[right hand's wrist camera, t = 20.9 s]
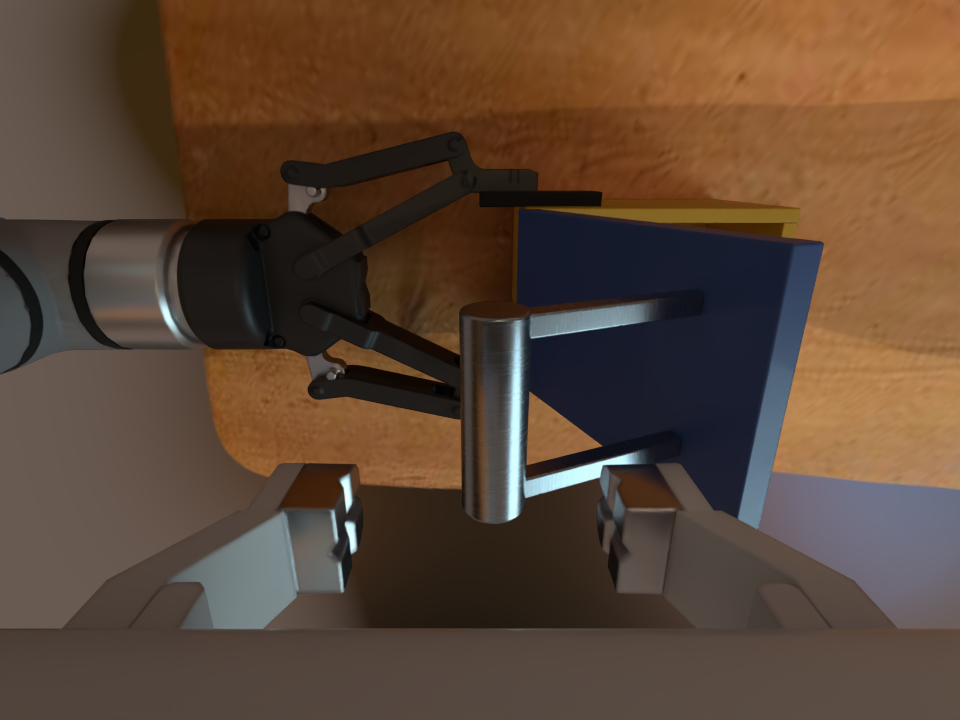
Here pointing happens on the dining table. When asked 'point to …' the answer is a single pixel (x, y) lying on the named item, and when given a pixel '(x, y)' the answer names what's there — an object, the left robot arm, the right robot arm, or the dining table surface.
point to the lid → (635, 357)
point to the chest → (684, 217)
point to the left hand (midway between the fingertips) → (589, 284)
